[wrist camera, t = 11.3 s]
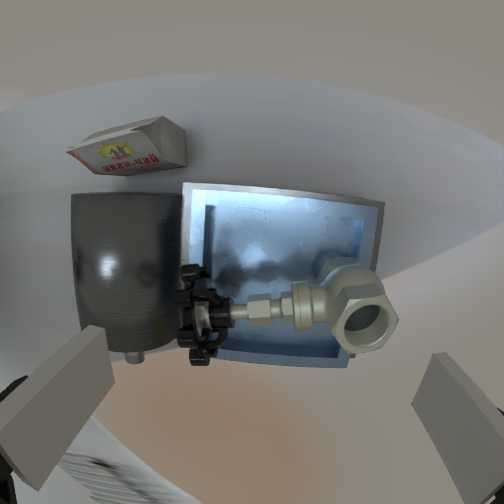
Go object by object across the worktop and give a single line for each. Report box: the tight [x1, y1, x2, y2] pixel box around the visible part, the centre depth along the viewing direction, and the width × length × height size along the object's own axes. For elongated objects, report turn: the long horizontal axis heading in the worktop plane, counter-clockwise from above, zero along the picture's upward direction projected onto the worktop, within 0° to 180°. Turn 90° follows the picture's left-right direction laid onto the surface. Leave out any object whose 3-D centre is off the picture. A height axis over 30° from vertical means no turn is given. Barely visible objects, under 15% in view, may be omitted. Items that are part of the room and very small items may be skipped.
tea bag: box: [65, 116, 187, 176], centre depth 21 cm, size 4×7×10 cm, turn 94°
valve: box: [173, 257, 399, 366], centre depth 17 cm, size 7×7×12 cm
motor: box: [71, 183, 385, 368], centre depth 23 cm, size 26×17×10 cm, turn 85°
